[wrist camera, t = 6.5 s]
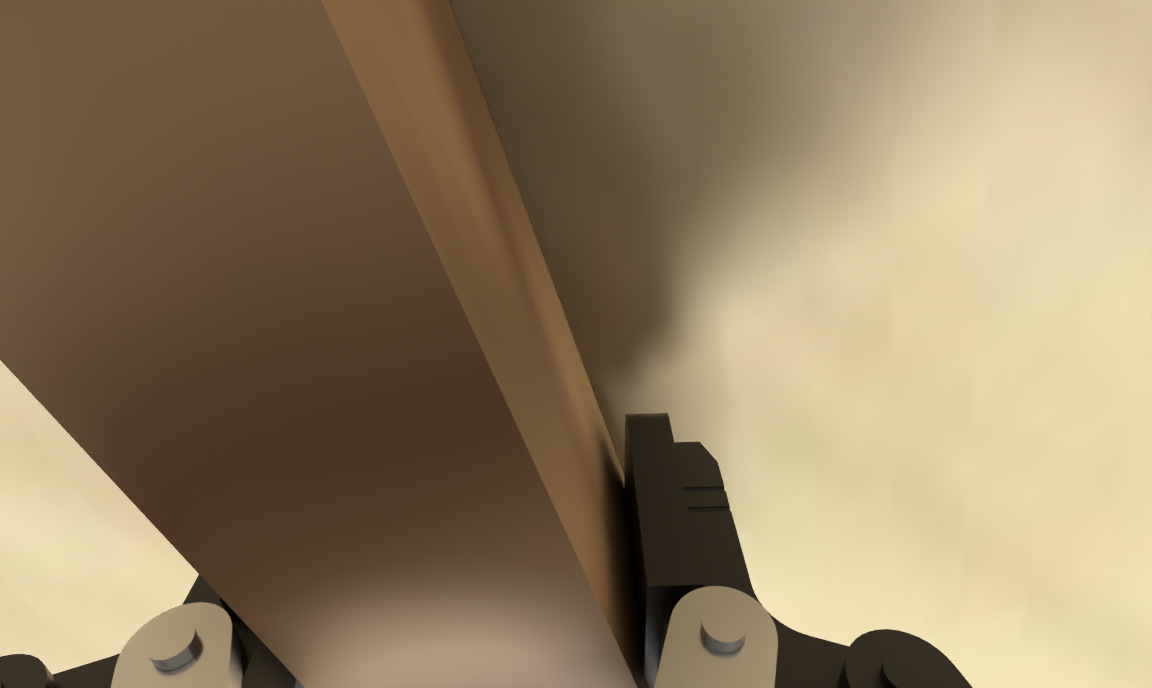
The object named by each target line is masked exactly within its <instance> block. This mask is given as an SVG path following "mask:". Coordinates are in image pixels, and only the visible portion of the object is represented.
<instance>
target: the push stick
mask: <svg viewBox="0 0 1152 688" xmlns="http://www.w3.org/2000/svg"><path fill="white" fill-rule="evenodd" d="M0 360H1V361H2V362H3V363H4V364H5V365H6V366H7V368H8V369H9V370H10V371H11V372H12V373H13V374H14V375H15V376H16V377H17V378H18V379H19V380H20V382H21V383H22V384H23V385H24V386H25V387H26V388H27V389H28V390H29V391H30V392H31V393H32V394H33V396H34V397H35V398H36V399H37V400H38V401H39V402H40V403H41V404H42V405H43V406H44V407H45V408H46V410H47V411H48V412H49V413H50V414H51V415H52V416H53V417H54V418H55V419H56V420H57V421H58V422H59V424H60V425H61V426H62V427H63V428H64V429H65V430H66V431H67V432H68V433H69V434H70V435H71V436H72V438H73V439H74V440H75V441H76V442H77V443H78V444H79V445H80V446H81V447H82V448H83V449H84V450H85V452H86V453H87V454H88V455H89V456H90V457H91V458H92V459H93V460H94V461H95V462H96V463H97V464H98V466H99V467H100V468H101V469H102V470H103V471H104V472H105V473H106V474H107V475H108V476H109V477H110V478H111V479H112V481H113V482H114V483H115V484H116V485H117V486H118V487H119V488H120V489H121V490H122V491H123V492H124V493H125V495H126V496H127V497H128V498H129V499H130V500H131V501H132V502H133V503H134V504H135V505H136V506H137V507H138V509H139V510H140V511H141V512H142V513H143V514H144V515H145V516H146V517H147V518H148V519H149V520H150V521H151V523H152V524H153V525H154V526H155V527H156V528H157V529H158V530H159V531H160V532H161V533H162V534H163V535H164V537H165V538H166V539H167V540H168V541H169V542H170V543H171V544H172V545H173V546H174V547H175V548H176V549H177V551H178V552H179V553H180V554H181V555H182V556H183V557H184V558H185V559H186V560H187V561H188V562H189V563H190V565H191V566H192V567H193V568H194V569H195V570H196V571H197V572H198V573H199V574H200V575H201V576H202V577H203V579H204V580H205V581H206V582H207V583H208V584H209V585H210V586H211V587H212V588H213V589H214V590H215V591H216V593H217V594H218V595H219V596H220V597H221V598H222V599H223V600H224V601H225V602H226V603H227V604H228V605H229V607H230V608H231V609H232V610H233V611H234V612H235V613H236V614H237V615H238V616H239V617H240V618H241V619H242V621H243V622H244V623H245V624H246V625H247V626H248V627H249V628H250V629H251V630H252V631H253V632H254V633H255V635H256V636H257V637H258V638H259V639H260V640H261V641H262V642H263V643H264V644H265V645H266V646H267V647H268V648H269V650H270V651H271V652H272V653H273V654H274V655H275V656H276V657H277V658H278V659H279V660H280V661H281V662H282V664H283V665H284V666H285V667H286V668H287V669H288V670H289V671H290V672H291V673H292V674H293V675H294V676H295V678H296V679H297V680H298V681H299V682H300V683H301V684H302V685H303V686H304V687H305V688H649V686H648V684H647V682H646V680H645V677H644V671H643V661H642V652H641V642H640V632H639V623H638V613H637V603H636V593H635V584H634V574H633V564H632V555H631V545H630V535H629V526H628V516H627V506H626V497H625V486H624V474H623V471H622V468H621V465H620V463H619V460H618V457H617V455H616V452H615V449H614V446H613V444H612V441H611V438H610V436H609V433H608V430H607V427H606V425H605V422H604V419H603V417H602V414H601V411H600V409H599V406H598V403H597V400H596V398H595V395H594V392H593V390H592V387H591V384H590V381H589V379H588V376H587V373H586V371H585V368H584V365H583V362H582V360H581V357H580V354H579V352H578V349H577V346H576V343H575V341H574V338H573V335H572V333H571V330H570V327H569V324H568V322H567V319H566V316H565V314H564V311H563V308H562V305H561V303H560V300H559V297H558V295H557V292H556V289H555V286H554V284H553V281H552V278H551V276H550V273H549V270H548V267H547V265H546V262H545V259H544V257H543V254H542V251H541V248H540V246H539V243H538V240H537V238H536V235H535V232H534V229H533V227H532V224H531V221H530V219H529V216H528V213H527V210H526V208H525V205H524V202H523V200H522V197H521V194H520V191H519V189H518V186H517V183H516V181H515V178H514V175H513V173H512V170H511V167H510V164H509V162H508V159H507V156H506V154H505V151H504V148H503V145H502V143H501V140H500V137H499V135H498V132H497V129H496V126H495V124H494V121H493V118H492V116H491V113H490V110H489V107H488V105H487V102H486V99H485V97H484V94H483V91H482V88H481V86H480V83H479V80H478V78H477V75H476V72H475V69H474V67H473V64H472V61H471V59H470V56H469V53H468V50H467V48H466V45H465V42H464V40H463V37H462V34H461V31H460V29H459V26H458V23H457V21H456V18H455V15H454V12H453V10H452V7H451V4H450V2H449V0H0Z"/></svg>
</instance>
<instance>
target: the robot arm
mask: <svg viewBox="0 0 1152 688" xmlns="http://www.w3.org/2000/svg"><path fill="white" fill-rule="evenodd" d="M624 486H625V497H626V506H627V516H628V526H629V535H630V545H631V555H632V564H633V574H634V584H635V593H636V603H637V613H638V623H639V632H640V642H641V652H642V661H643V671H644V677H645V680H646V682H647V684H648V686H649V688H972V686H971V685H970V684H969V683H968V682H967V680H966V679H965V678H964V677H963V675H962V674H961V673H960V672H959V670H958V669H957V668H956V667H955V666H954V664H953V663H952V662H951V661H950V660H949V659H948V658H947V657H946V656H945V655H944V654H943V653H942V652H941V651H939V650H938V649H937V648H936V647H934V646H933V645H931V644H930V643H928V642H926V641H924V640H923V639H921V638H919V637H916V636H914V635H911V634H909V633H905V632H901V631H897V630H889V629H884V630H874V631H870V632H867V633H865V634H862V635H861V636H860V637H858V638H857V639H856V640H855V641H854V642H853V643H852V644H851V645H850V647H849V646H845V645H841V644H837V643H834V642H830V641H826V640H822V639H819V638H815V637H811V636H808V635H805V634H802V633H799V632H797V631H795V630H793V629H790V628H789V627H787V626H785V625H784V624H782V623H780V622H779V621H778V620H777V619H775V618H774V617H773V616H771V614H770V613H769V612H768V611H767V610H766V609H765V608H764V607H763V606H762V604H761V603H760V602H759V600H758V599H757V597H756V595H755V593H754V591H753V588H752V585H751V582H750V578H749V574H748V571H747V567H746V564H745V560H744V556H743V553H742V549H741V546H740V542H739V538H738V535H737V531H736V527H735V524H734V520H733V517H732V513H731V511H730V506H729V502H728V498H727V495H726V491H724V484H723V480H722V477H721V473H720V470H719V466H718V462H717V461H716V460H715V459H714V458H713V457H712V455H711V454H710V453H709V452H708V451H707V450H706V449H705V447H704V446H703V445H702V444H701V443H700V442H676V443H674V440H673V435H672V430H671V425H670V421H669V416H668V414H667V413H656V414H626V416H625V469H624ZM0 688H305V687H304V686H303V685H302V684H301V683H300V682H299V681H298V680H297V679H296V678H295V676H294V675H293V674H292V673H291V672H290V671H289V670H288V669H287V668H286V667H285V666H284V665H283V664H282V662H281V661H280V660H279V659H278V658H277V657H276V656H275V655H274V654H273V653H272V652H271V651H270V650H269V648H268V647H267V646H266V645H265V644H264V643H263V642H262V641H261V640H260V639H259V638H258V637H257V636H256V635H255V633H254V632H253V631H252V630H251V629H250V628H249V627H248V626H247V625H246V624H245V623H244V622H243V621H242V619H241V618H240V617H239V616H238V615H237V614H236V613H235V612H234V611H233V610H232V609H231V608H230V607H229V605H228V604H227V603H226V602H225V601H224V600H223V599H222V598H221V597H220V596H219V595H218V594H217V593H216V591H215V590H214V589H213V588H212V587H211V586H210V585H209V584H208V583H207V582H206V581H205V580H204V579H203V577H202V576H201V575H200V574H199V576H198V577H197V579H196V581H195V583H194V585H193V587H192V588H191V590H190V592H189V594H188V596H187V597H186V599H185V601H184V603H183V604H182V605H181V606H178V607H175V608H172V609H170V610H168V611H166V612H163V613H162V614H160V615H158V616H157V617H155V618H153V619H152V620H150V621H149V622H148V623H146V624H145V625H144V626H143V627H141V628H140V629H139V630H138V631H137V632H136V633H135V634H134V635H133V636H132V637H131V638H130V640H129V641H128V642H127V644H126V645H125V646H124V648H123V650H122V652H121V653H120V654H117V655H114V656H112V657H109V658H105V659H102V660H99V661H96V662H92V663H89V664H86V665H83V666H79V667H76V668H73V669H69V670H66V671H63V672H60V673H56V674H53V675H52V674H51V673H50V671H49V670H48V669H47V668H46V666H45V665H44V664H43V662H42V661H40V660H39V659H38V658H36V657H34V656H31V655H25V654H13V655H7V656H2V657H0Z"/></svg>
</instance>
